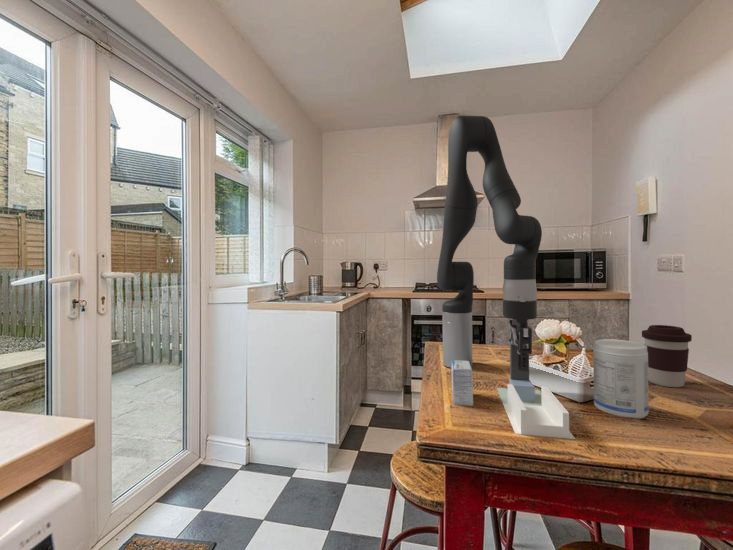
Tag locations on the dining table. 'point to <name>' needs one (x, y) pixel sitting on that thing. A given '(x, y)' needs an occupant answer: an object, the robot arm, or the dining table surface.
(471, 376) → the medicine box
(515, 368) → the lane block
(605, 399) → the supplement tub
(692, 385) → the dining table surface
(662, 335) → the coffee cup
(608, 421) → the dining table surface
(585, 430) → the dining table surface
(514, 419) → the lane fixture
